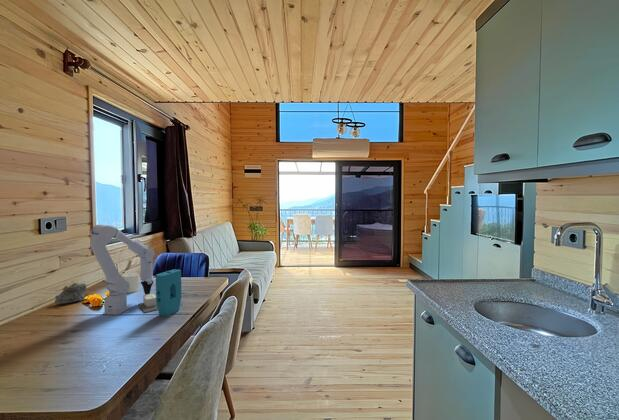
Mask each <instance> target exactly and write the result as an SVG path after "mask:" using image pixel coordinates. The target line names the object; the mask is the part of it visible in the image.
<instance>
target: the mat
mask: <svg viewBox="0 0 619 420" xmlns="http://www.w3.org/2000/svg"><path fill="white" fill-rule="evenodd" d="M138 306H139V308H140V310H141V311H142V312H143V314H146V313H150V312H151V313H152V312H155V311H158V308H157V305H155V306H150V307H146V305H145V304H144V303H139V304H138Z"/></svg>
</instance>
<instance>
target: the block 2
mask: <svg viewBox="0 0 619 420" xmlns="http://www.w3.org/2000/svg"><path fill="white" fill-rule="evenodd" d="M155 295H156V304H157V308H158V310H157V312H158V315H159V316H162V317H169V316H170V315H173V314H175V313H177V312H179V311H180V308H181V307H180V306H181V302H182V270H181V269H175V268H174V269H171V270H166V271H164V272H160V273H157V274H155Z"/></svg>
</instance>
